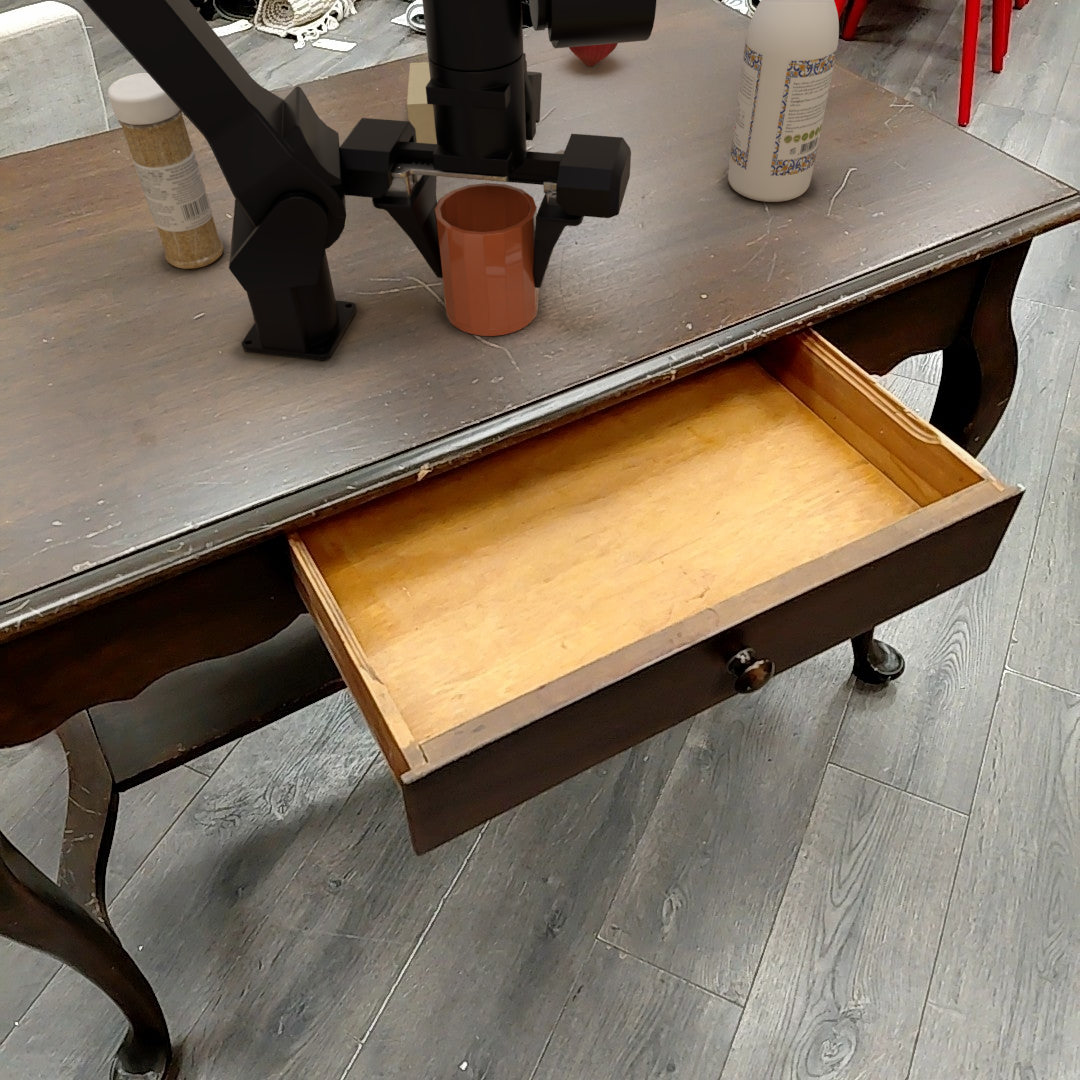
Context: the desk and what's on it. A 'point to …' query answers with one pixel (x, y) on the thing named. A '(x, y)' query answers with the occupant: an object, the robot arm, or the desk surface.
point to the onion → (593, 53)
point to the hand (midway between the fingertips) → (490, 279)
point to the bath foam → (782, 97)
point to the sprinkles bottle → (167, 170)
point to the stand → (420, 103)
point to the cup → (487, 258)
